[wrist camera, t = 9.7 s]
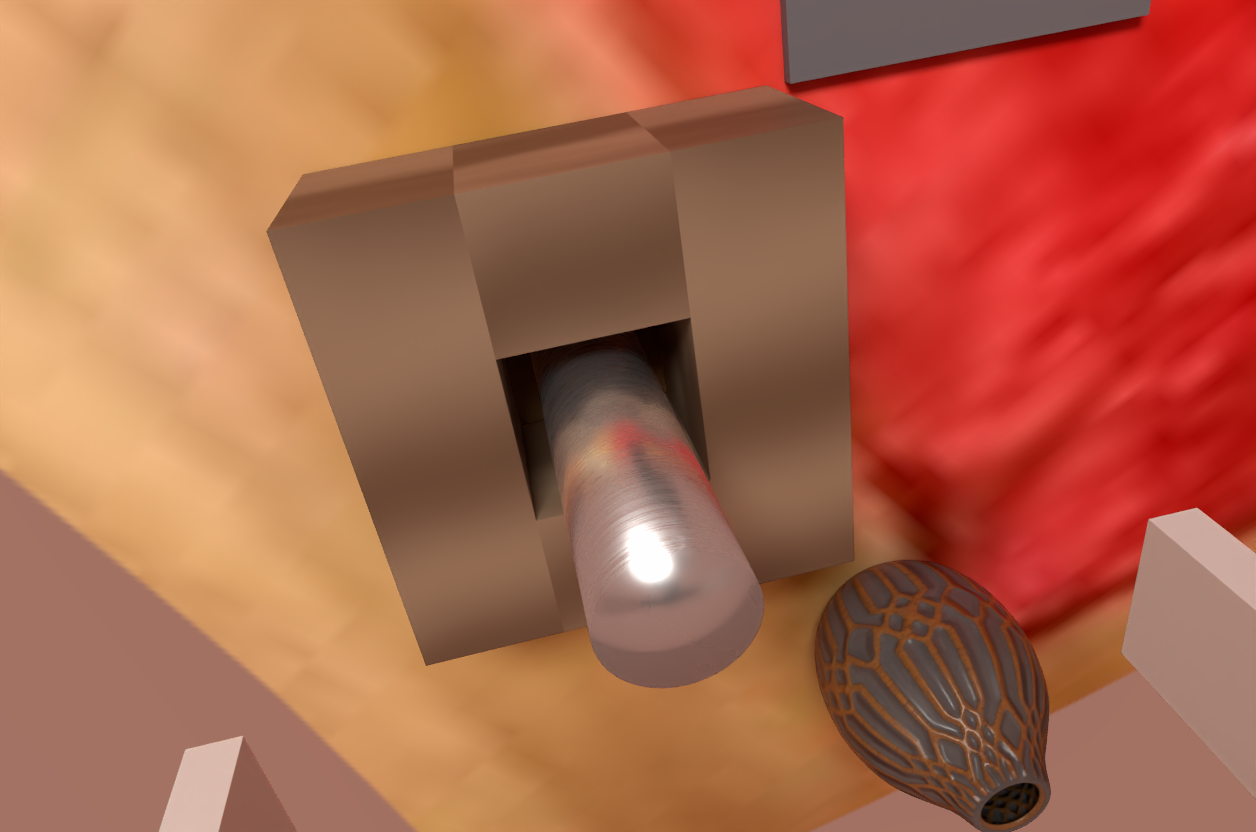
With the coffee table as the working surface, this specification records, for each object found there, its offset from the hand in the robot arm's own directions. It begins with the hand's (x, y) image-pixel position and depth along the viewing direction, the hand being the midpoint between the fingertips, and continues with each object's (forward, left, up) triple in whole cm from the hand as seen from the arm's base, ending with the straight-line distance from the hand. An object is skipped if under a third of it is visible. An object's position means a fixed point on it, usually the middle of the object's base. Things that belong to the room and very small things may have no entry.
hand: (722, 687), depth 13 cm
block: (0, 0, -14) cm, 14 cm away
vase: (+13, +9, -14) cm, 21 cm away
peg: (0, 0, -14) cm, 14 cm away
